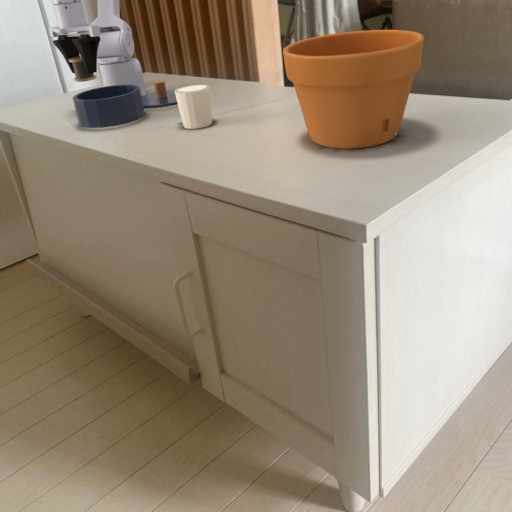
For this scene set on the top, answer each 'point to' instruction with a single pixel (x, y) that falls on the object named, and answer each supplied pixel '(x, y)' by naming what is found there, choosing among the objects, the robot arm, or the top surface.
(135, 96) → the pot
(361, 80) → the flower pot
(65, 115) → the top surface
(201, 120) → the white cup
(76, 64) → the spool
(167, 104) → the pot lid
